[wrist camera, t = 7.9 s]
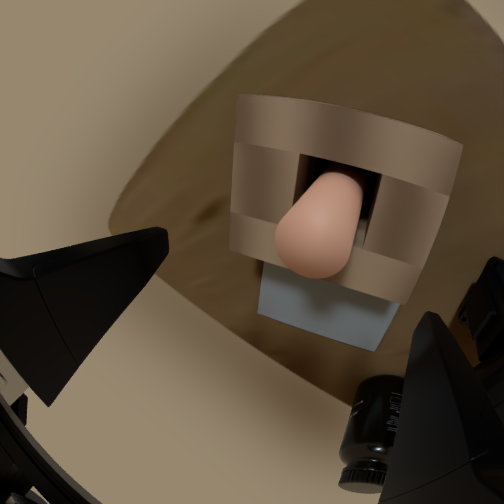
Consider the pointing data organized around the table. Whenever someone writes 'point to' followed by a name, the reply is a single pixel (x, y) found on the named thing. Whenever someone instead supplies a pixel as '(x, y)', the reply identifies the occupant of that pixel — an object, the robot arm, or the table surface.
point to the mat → (324, 307)
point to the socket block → (352, 153)
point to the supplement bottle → (371, 434)
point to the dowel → (323, 223)
